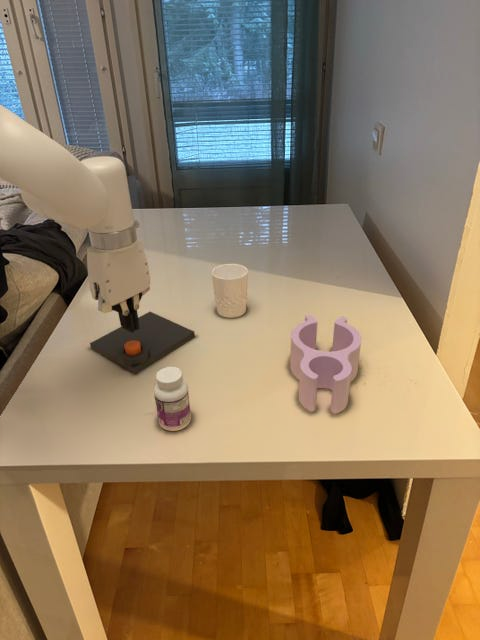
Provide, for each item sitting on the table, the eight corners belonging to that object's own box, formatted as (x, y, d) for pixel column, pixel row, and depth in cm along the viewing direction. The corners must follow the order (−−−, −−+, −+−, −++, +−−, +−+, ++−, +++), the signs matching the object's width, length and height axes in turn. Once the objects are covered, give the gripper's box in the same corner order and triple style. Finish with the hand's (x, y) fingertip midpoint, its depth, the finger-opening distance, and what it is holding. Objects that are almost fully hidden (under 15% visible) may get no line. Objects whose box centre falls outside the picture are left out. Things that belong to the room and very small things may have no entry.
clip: (361, 416, 76) (366, 382, 72) (285, 409, 78) (286, 376, 74) (355, 347, 93) (359, 317, 89) (292, 343, 95) (293, 313, 91)
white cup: (248, 319, 103) (247, 278, 98) (213, 319, 103) (210, 279, 98) (248, 302, 110) (248, 263, 105) (215, 302, 110) (213, 263, 105)
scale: (133, 375, 87) (131, 362, 85) (89, 349, 95) (86, 337, 93) (195, 337, 98) (193, 324, 96) (150, 316, 105) (149, 305, 104)
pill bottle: (156, 413, 78) (149, 367, 73) (188, 406, 79) (182, 360, 74) (161, 435, 74) (153, 388, 69) (194, 428, 75) (189, 381, 70)
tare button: (132, 357, 87) (131, 350, 87) (122, 352, 89) (120, 345, 88) (144, 350, 89) (143, 343, 89) (134, 345, 91) (133, 338, 90)
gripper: (133, 218, 84) (148, 306, 94) (60, 245, 75) (85, 340, 84) (161, 227, 80) (173, 318, 90) (88, 256, 70) (110, 354, 80)
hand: (130, 328), depth 87 cm, fingers closed
